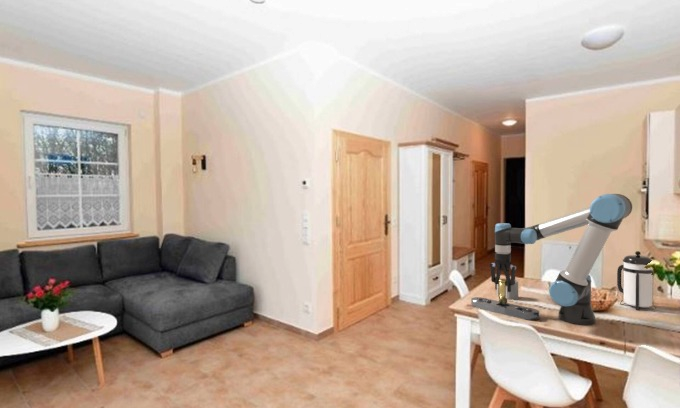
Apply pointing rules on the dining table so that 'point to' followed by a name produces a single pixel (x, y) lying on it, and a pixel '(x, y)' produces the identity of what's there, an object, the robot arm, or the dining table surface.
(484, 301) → the long dark plank
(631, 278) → the coffee press
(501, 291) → the pin
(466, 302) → the dining table surface
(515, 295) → the cup
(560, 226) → the robot arm
